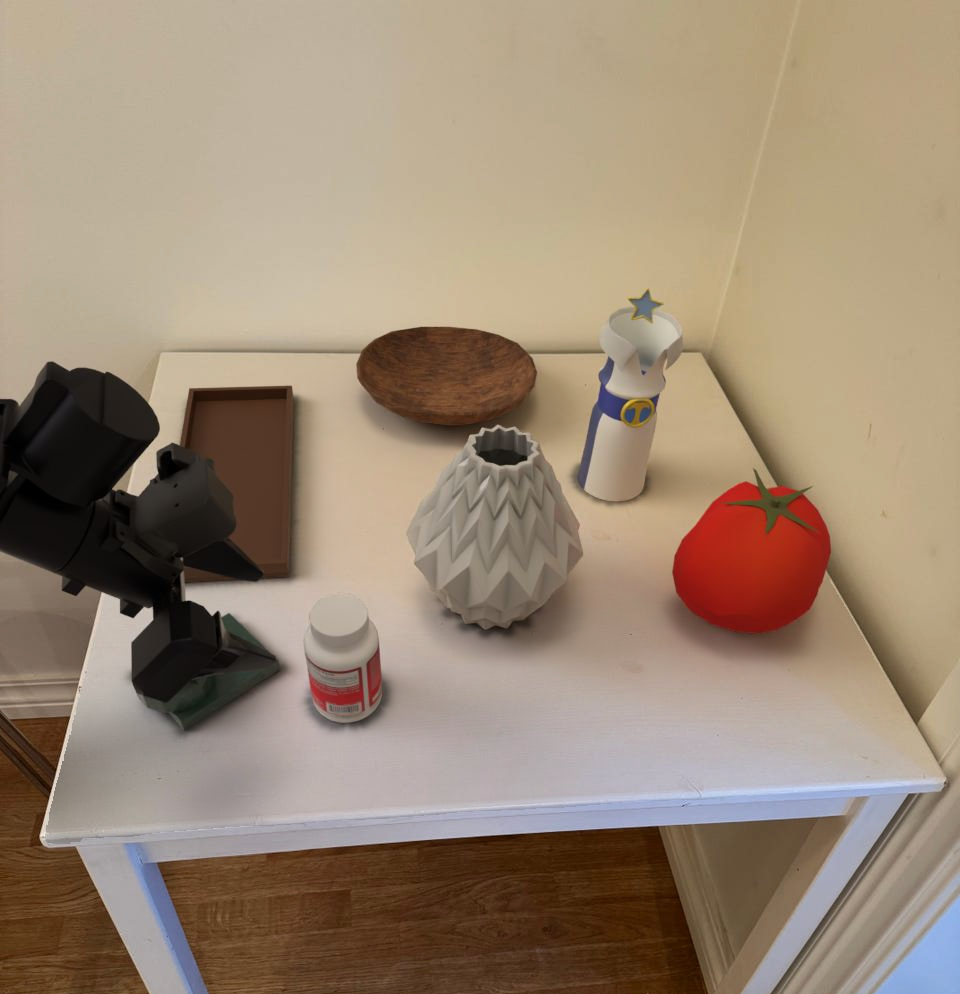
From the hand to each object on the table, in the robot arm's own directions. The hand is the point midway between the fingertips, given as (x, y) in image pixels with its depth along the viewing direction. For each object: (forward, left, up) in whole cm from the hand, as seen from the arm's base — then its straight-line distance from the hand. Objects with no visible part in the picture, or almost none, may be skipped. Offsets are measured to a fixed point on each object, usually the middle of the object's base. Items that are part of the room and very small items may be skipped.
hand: (266, 618), depth 66 cm
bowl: (+43, +25, -12) cm, 51 cm away
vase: (+23, -3, -12) cm, 26 cm away
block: (-3, +8, -12) cm, 14 cm away
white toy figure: (+47, +1, -12) cm, 48 cm away
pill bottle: (+5, -3, -12) cm, 13 cm away
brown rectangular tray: (+14, +29, -12) cm, 35 cm away
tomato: (+40, -20, -12) cm, 46 cm away
